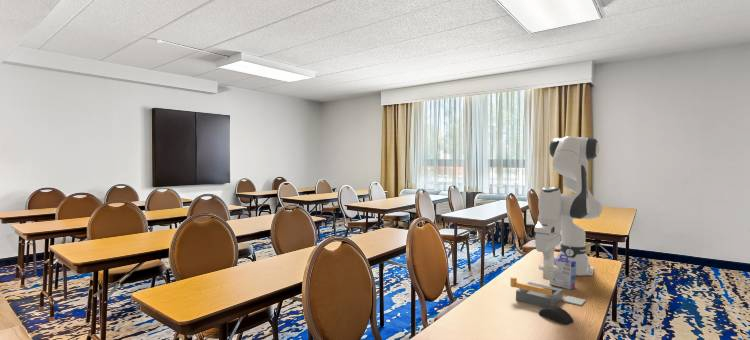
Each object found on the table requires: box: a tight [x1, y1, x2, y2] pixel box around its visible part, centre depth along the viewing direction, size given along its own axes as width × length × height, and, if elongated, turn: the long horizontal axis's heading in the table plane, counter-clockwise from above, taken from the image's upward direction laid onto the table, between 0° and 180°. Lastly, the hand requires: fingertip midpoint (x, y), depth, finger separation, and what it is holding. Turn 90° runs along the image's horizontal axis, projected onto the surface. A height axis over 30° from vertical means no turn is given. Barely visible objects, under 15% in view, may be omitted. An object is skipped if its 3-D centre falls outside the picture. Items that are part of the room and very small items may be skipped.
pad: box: [562, 295, 586, 307], centre depth 160 cm, size 7×7×1 cm
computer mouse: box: [538, 305, 574, 326], centre depth 143 cm, size 6×11×4 cm, turn 30°
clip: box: [510, 276, 552, 296], centre depth 157 cm, size 2×16×4 cm, turn 48°
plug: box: [538, 248, 558, 281], centre depth 161 cm, size 8×8×13 cm
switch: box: [515, 281, 564, 308], centre depth 162 cm, size 15×14×5 cm
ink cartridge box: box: [549, 254, 577, 290], centre depth 178 cm, size 10×6×14 cm, turn 41°
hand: (548, 258), depth 161 cm, fingers closed on plug, 4 cm apart
